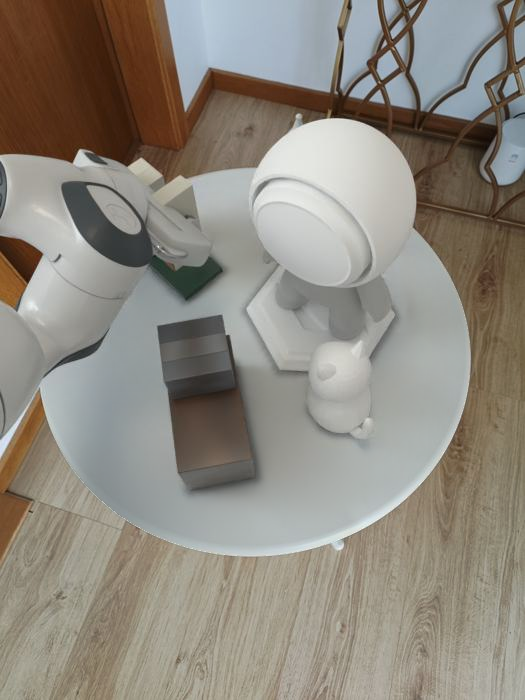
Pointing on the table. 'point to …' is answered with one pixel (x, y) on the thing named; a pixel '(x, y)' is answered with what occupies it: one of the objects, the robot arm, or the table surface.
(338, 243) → the white toy figurine
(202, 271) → the green book holder
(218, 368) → the grey stand
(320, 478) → the table surface
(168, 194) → the white book
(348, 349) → the cat figurine
